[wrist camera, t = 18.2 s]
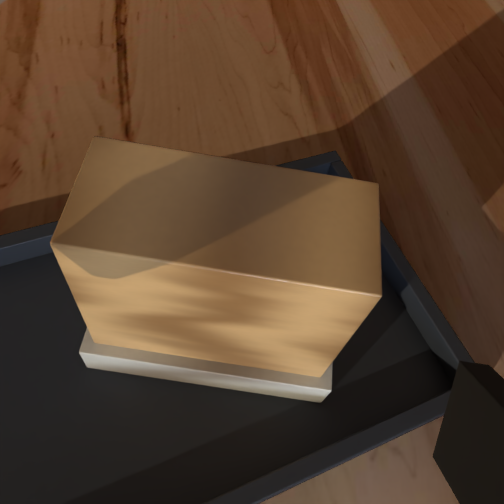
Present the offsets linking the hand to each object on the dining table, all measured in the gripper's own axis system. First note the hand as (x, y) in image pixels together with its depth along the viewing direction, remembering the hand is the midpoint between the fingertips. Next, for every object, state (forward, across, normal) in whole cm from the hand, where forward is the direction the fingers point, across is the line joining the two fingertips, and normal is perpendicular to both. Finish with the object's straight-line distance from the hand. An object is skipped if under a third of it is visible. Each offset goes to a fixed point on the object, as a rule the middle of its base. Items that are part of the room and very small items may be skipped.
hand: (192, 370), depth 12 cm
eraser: (+11, 0, -4) cm, 12 cm away
